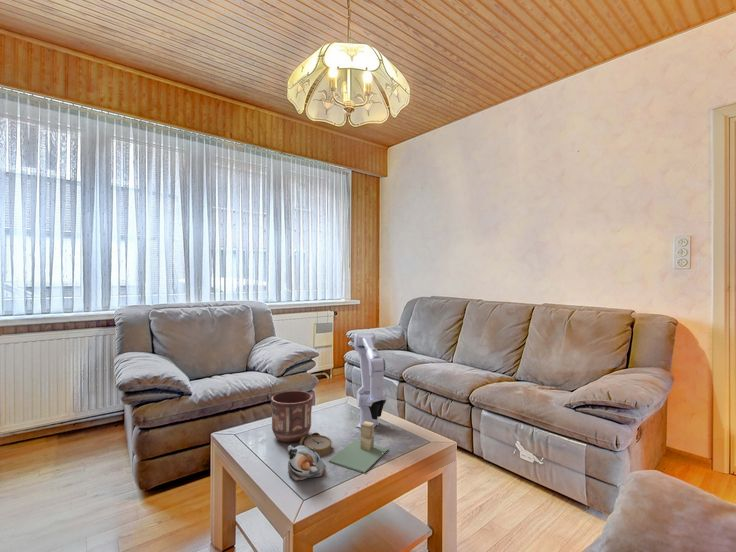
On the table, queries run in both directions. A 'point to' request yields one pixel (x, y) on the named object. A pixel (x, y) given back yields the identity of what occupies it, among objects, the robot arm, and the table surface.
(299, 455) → the lucky cat figurine
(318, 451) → the alarm clock
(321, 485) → the table surface
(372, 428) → the birch block
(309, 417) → the pottery
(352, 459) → the rubber mat
